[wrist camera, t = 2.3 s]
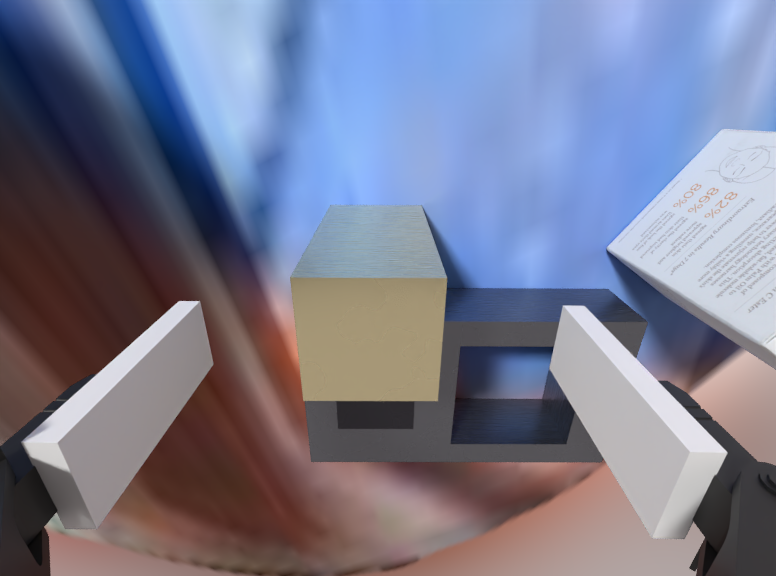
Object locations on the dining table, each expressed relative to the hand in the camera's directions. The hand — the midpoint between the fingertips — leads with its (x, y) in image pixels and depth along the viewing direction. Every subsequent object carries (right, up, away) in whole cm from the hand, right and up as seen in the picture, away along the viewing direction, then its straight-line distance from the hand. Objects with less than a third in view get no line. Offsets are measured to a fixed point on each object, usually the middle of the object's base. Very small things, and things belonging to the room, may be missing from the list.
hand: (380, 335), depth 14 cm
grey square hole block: (+5, -3, +11) cm, 12 cm away
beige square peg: (0, +4, +8) cm, 9 cm away
